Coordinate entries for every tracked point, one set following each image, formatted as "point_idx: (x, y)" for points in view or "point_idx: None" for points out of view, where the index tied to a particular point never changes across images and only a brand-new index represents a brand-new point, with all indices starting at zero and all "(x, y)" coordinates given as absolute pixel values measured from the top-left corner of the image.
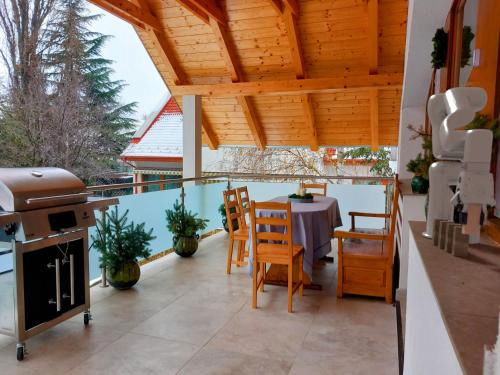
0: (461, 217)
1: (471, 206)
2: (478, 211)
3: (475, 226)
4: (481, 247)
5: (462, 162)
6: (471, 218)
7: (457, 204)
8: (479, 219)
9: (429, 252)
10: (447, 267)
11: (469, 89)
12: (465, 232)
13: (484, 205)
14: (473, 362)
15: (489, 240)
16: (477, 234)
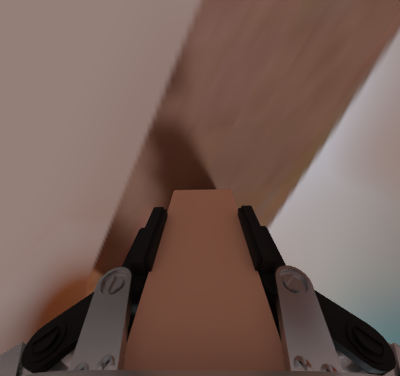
0: (273, 242)
1: (231, 334)
2: (164, 284)
3: (187, 209)
4: (122, 260)
5: None
6: (211, 239)
7: (391, 357)
8: (164, 235)
9: (259, 212)
10: (308, 75)
11: None
12: (228, 192)
13: (93, 352)
14: None
15: None
16: (179, 190)
